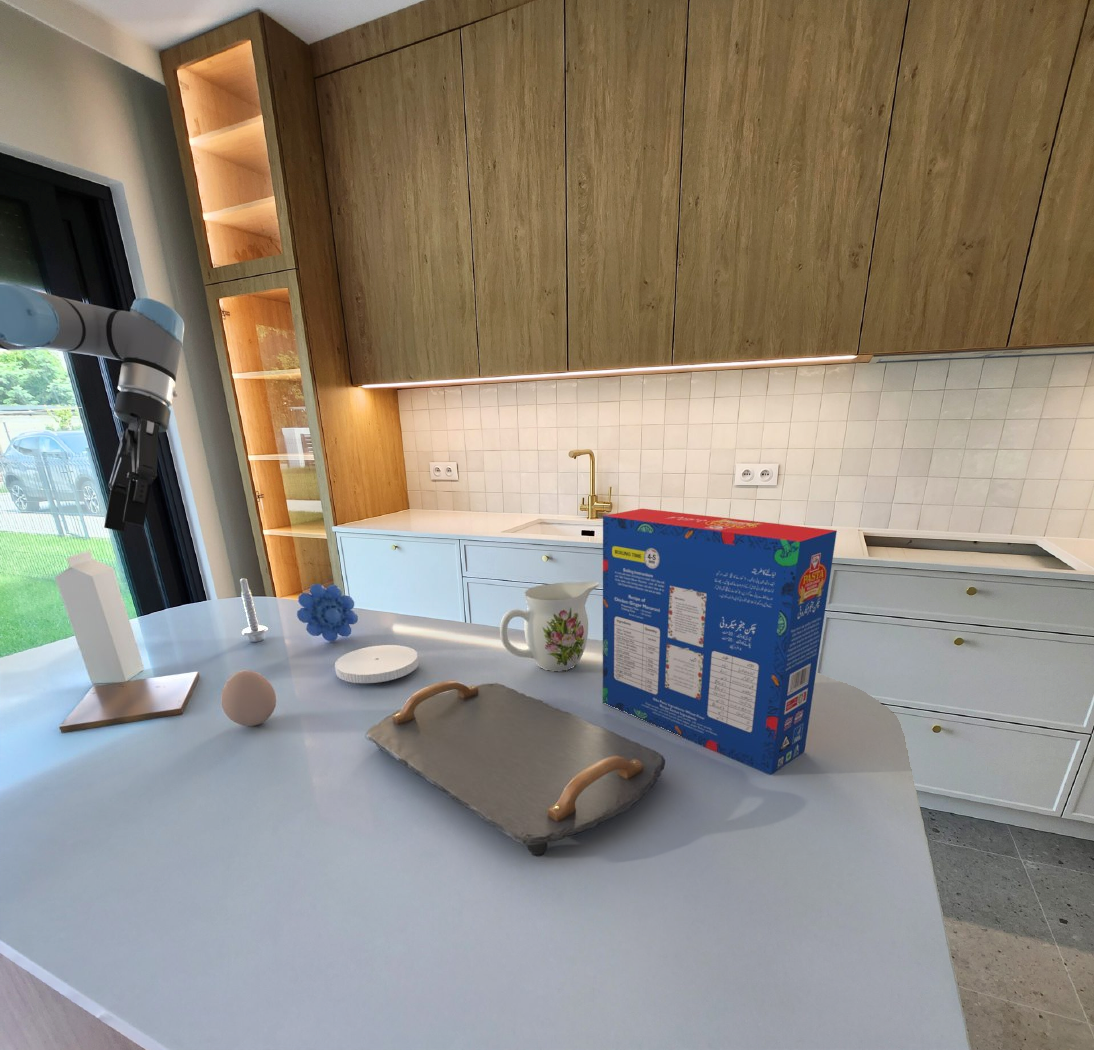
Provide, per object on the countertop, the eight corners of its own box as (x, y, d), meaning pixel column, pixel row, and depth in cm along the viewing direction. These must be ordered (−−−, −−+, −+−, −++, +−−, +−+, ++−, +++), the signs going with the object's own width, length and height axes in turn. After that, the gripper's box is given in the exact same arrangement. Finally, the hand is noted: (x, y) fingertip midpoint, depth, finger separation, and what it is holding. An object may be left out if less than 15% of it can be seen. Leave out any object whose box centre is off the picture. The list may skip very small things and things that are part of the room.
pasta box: (804, 751, 79) (836, 530, 68) (770, 775, 75) (799, 541, 64) (637, 688, 99) (642, 508, 88) (602, 703, 94) (602, 515, 83)
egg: (285, 726, 91) (273, 673, 87) (231, 740, 87) (217, 685, 84) (276, 708, 96) (264, 658, 93) (225, 721, 93) (211, 669, 90)
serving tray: (353, 744, 85) (345, 703, 83) (486, 692, 99) (483, 656, 97) (546, 883, 59) (544, 829, 56) (689, 785, 73) (692, 738, 71)
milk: (144, 669, 114) (109, 549, 105) (125, 682, 108) (86, 556, 100) (110, 671, 114) (72, 550, 105) (90, 684, 108) (47, 558, 100)
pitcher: (494, 662, 111) (488, 587, 106) (586, 647, 117) (585, 575, 111) (512, 685, 101) (507, 604, 96) (612, 667, 107) (612, 590, 102)
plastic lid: (348, 696, 100) (346, 681, 99) (328, 668, 111) (326, 655, 110) (430, 676, 106) (429, 662, 105) (404, 652, 117) (402, 639, 116)
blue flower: (310, 653, 118) (299, 592, 114) (299, 644, 123) (287, 585, 119) (368, 639, 125) (359, 581, 120) (355, 631, 130) (346, 575, 125)
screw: (271, 635, 130) (267, 642, 125) (246, 637, 129) (241, 645, 124) (258, 573, 124) (253, 579, 120) (232, 575, 124) (226, 581, 119)
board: (61, 732, 91) (58, 726, 91) (95, 691, 105) (93, 685, 105) (182, 714, 96) (180, 708, 95) (199, 676, 110) (198, 671, 109)
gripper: (193, 393, 96) (170, 528, 96) (150, 423, 114) (131, 537, 113) (137, 370, 91) (112, 513, 90) (101, 405, 108) (80, 525, 108)
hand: (123, 527), depth 102 cm, fingers open, 13 cm apart
